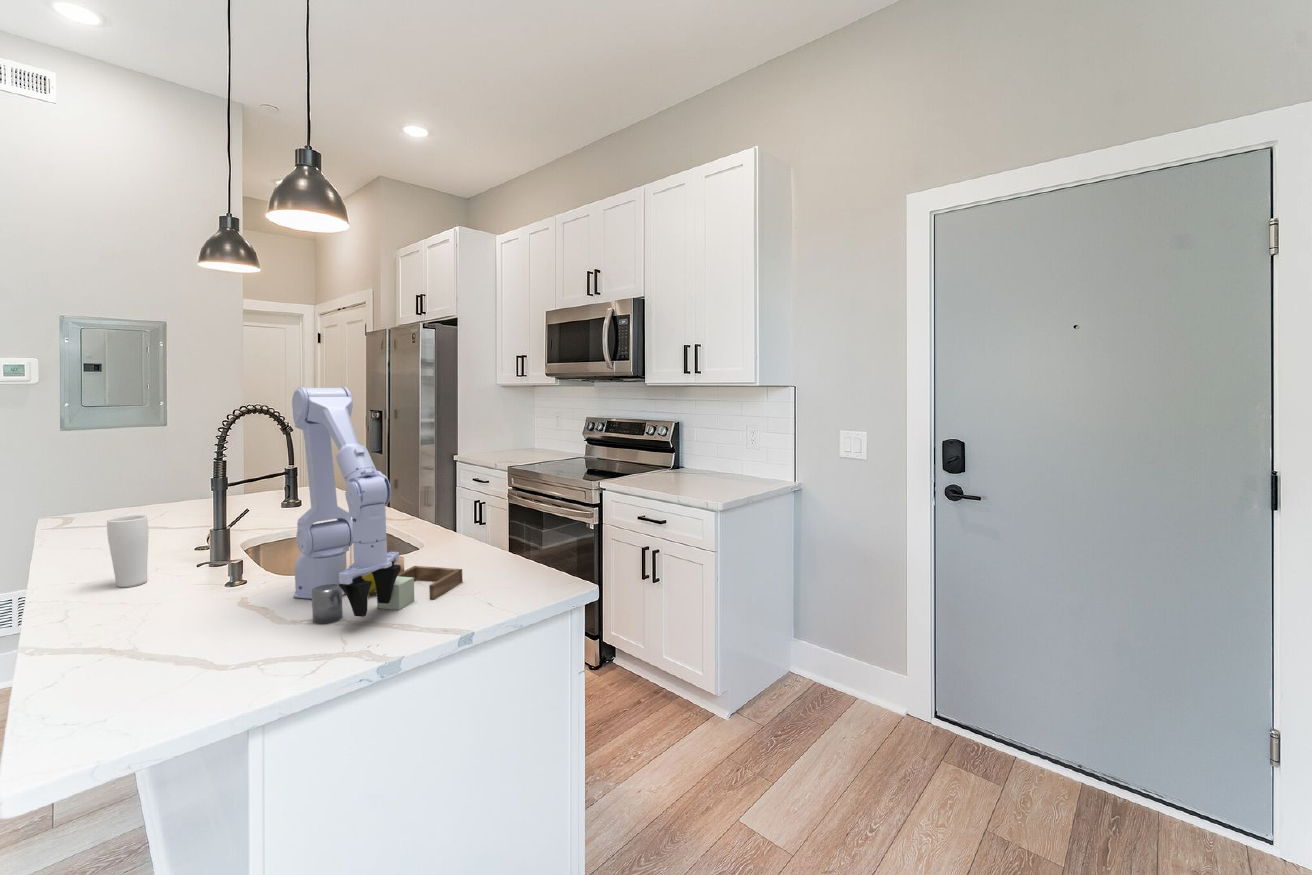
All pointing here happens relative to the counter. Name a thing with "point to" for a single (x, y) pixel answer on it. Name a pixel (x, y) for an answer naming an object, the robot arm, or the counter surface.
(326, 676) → the counter surface
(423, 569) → the corral
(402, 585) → the block
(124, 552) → the drinking glass
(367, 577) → the lemon
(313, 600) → the can
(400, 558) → the peach rounded cylinder
